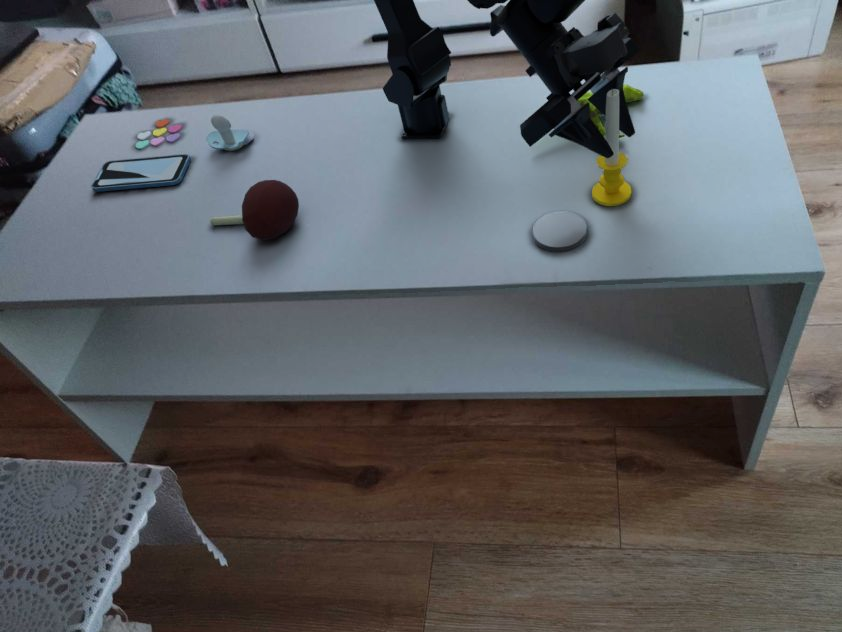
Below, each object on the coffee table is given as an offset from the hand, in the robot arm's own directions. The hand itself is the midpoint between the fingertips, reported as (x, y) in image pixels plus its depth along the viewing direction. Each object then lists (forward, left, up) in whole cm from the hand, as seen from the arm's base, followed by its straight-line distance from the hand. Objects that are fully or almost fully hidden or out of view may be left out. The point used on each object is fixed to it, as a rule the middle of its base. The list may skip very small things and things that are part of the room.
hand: (621, 145), depth 87 cm
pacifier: (-63, +13, -8) cm, 65 cm away
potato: (-50, -7, -7) cm, 51 cm away
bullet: (-58, -7, -7) cm, 59 cm away
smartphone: (-76, +4, -8) cm, 77 cm away
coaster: (-7, -7, -8) cm, 13 cm away
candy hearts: (-79, +16, -8) cm, 81 cm away
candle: (-1, +1, -8) cm, 8 cm away
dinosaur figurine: (-6, +17, -8) cm, 19 cm away
